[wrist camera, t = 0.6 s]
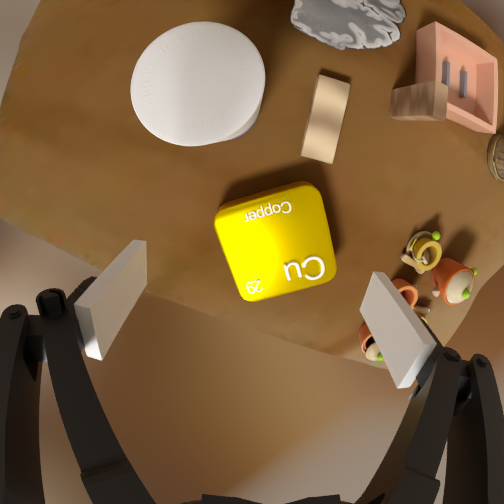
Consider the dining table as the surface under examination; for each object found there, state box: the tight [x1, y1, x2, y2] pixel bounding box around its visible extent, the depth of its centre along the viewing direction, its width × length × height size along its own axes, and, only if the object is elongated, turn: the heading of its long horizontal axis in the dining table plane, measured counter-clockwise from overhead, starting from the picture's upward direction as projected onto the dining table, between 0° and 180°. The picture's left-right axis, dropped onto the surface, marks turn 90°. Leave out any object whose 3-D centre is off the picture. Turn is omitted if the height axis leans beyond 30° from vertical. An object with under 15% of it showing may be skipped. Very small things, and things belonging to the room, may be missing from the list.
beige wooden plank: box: [299, 75, 351, 164], centre depth 36 cm, size 12×4×2 cm, turn 168°
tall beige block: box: [389, 80, 448, 121], centre depth 29 cm, size 4×2×12 cm, turn 173°
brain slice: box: [290, 0, 407, 50], centre depth 27 cm, size 20×17×3 cm
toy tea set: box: [359, 231, 477, 361], centre depth 43 cm, size 26×16×10 cm, turn 157°
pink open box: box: [415, 21, 498, 134], centre depth 29 cm, size 14×14×6 cm
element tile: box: [214, 181, 337, 302], centre depth 41 cm, size 15×15×5 cm
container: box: [131, 22, 265, 146], centre depth 26 cm, size 10×10×20 cm
